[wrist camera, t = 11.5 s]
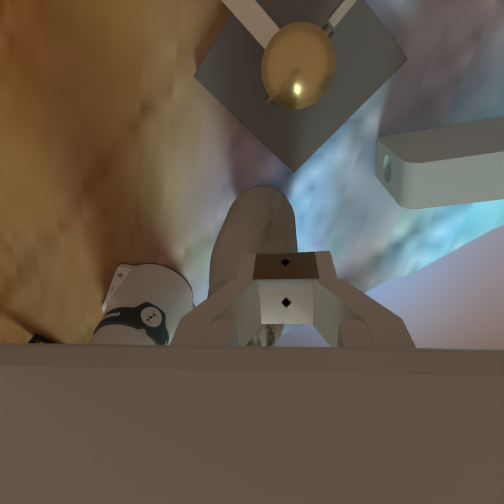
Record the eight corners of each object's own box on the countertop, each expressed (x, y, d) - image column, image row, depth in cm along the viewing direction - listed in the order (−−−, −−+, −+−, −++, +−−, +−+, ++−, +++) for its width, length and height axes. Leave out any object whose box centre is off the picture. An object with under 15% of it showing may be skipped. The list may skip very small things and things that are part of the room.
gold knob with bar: (350, 58, 30) (358, 57, 26) (290, 124, 34) (290, 130, 30) (220, -107, 24) (209, -134, 21) (167, -6, 28) (151, -15, 25)
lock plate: (293, 168, 43) (294, 182, 38) (197, 75, 37) (183, 77, 32) (401, 59, 34) (421, 58, 29) (297, -81, 29) (299, -112, 24)
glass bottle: (238, 172, 44) (182, 291, 21) (302, 187, 44) (318, 322, 21) (228, 226, 49) (175, 370, 26) (285, 240, 50) (283, 394, 26)
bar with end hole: (576, 96, 35) (713, 111, 24) (558, 146, 38) (671, 179, 27) (374, 130, 39) (409, 156, 28) (372, 172, 42) (403, 210, 31)
